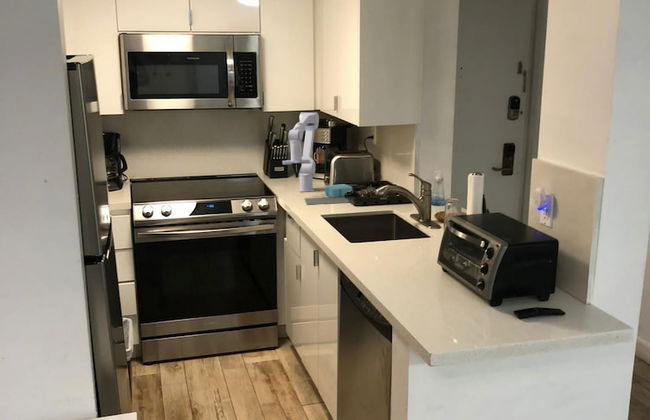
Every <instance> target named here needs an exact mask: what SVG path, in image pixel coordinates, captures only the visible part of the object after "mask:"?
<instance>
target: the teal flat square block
mask: <svg viewBox="0 0 650 420" xmlns="http://www.w3.org/2000/svg"><path fill="white" fill-rule="evenodd" d="M351 191H352V192H353V186H351V185H349V184H348V185H347V184H344V183H342V184H340V183H339V184H329V185H325V186H324V195H326V196H327V197H343V196H344V194H345V193H347V192H351Z"/></svg>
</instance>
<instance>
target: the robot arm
mask: <svg viewBox="0 0 650 420" xmlns="http://www.w3.org/2000/svg"><path fill="white" fill-rule="evenodd" d="M319 117H320V116H319V113H318V112H316V111H315V112H302V111H301V112H300V114H299V122H297V123H296V124H295V125H294V127H293V129H290V130H289V131H288V136H287V137H288V140H289V144H290V159H289V160H288V159H287V160H282V165H291V167H292V169H293V171H294V177H295V179H298V178H299V187H298V191H299V192H300V193H306V192H315V189H314V184H313V182H314V179H313V175H314V174H315V173H316V162H315V160H314V159H313V158H312V155H313V147H314V139H315V133H316V130H317V129H318V127H319V122H320V118H319ZM304 133H305V136H304ZM303 136H304V143H303V151H302V141H303Z"/></svg>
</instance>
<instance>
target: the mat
mask: <svg viewBox="0 0 650 420" xmlns="http://www.w3.org/2000/svg"><path fill="white" fill-rule="evenodd" d="M304 201H305V203H306V205H307V206H310V205H328V204H329V205H330V204H333V205H334V204H349V203H351V202H350V200H349V199H348V198H347V199H346V198H345V197H344V196H343V197H331V196H327V197H326V196H325V197H309V198H308V197H307V198H304Z"/></svg>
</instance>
